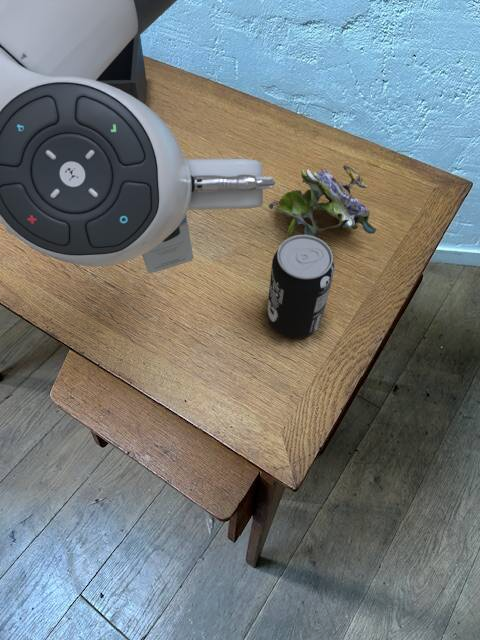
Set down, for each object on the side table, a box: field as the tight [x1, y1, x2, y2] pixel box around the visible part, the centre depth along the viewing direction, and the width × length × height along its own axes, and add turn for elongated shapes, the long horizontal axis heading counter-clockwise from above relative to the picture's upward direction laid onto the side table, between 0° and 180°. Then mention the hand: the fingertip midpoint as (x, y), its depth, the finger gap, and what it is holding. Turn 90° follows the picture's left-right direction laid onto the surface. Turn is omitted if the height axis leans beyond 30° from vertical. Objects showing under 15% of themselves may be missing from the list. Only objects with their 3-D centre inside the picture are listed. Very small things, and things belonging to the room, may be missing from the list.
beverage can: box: [266, 234, 335, 340], centre depth 62 cm, size 7×7×12 cm
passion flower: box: [268, 164, 377, 239], centre depth 71 cm, size 11×11×12 cm
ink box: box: [141, 214, 194, 274], centre depth 52 cm, size 9×5×12 cm, turn 21°
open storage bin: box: [95, 35, 148, 106], centre depth 84 cm, size 13×13×9 cm
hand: (148, 189), depth 51 cm, fingers closed on ink box, 6 cm apart
